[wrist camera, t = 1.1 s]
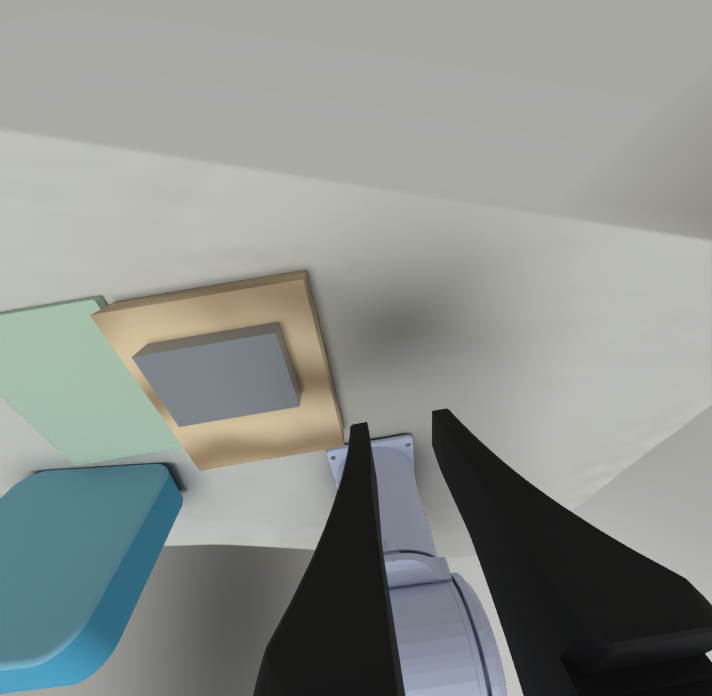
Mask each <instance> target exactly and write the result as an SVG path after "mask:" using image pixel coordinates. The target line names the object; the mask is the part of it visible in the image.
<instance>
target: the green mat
mask: <svg viewBox="0 0 712 696" xmlns="http://www.w3.org/2000/svg"><path fill="white" fill-rule="evenodd" d="M106 306H108V305H107V304H106V302H105V301H104V299H103V298H102V296H98V297H92V298H86V299H80V300H74V301H68V302H62V303H57V304H51V305H45V306H39V307H33V308H27V309H21V310H15V311H9V312H3V313H0V397H1V398H2V399H3V400H5V401H6V402H7V403H8V404H9V405H10V406H11V407H12V408H13V409H14V410H15V411H16V412H17V413H18V414H20V415H21V416H22V417H23V418H24V419H25V420H26V421H27V422H28V423H29V424H30V425H31V426H32V427H34V428H35V429H36V430H37V431H38V432H39V433H40V434H41V435H42V436H43V437H44V438H45V439H46V440H48V441H49V442H50V443H51V444H52V445H53V446H54V447H55V448H56V449H57V450H58V451H59V452H60V453H62V454H63V455H64V456H65V457H66V458H67V459H68V460H69V461H70V462H71V463H72V464H73V465H74V466H76V465H82V464H88V463H94V462H100V461H106V460H112V459H118V458H123V457H129V456H135V455H141V454H147V453H153V452H159V451H165V450H171V449H176V448H182V447H183V446H182V445H181V443H180V442H179V440H178V439H177V437H176V436H175V435H174V433H173V432H172V430H171V429H170V428H169V426H168V425H167V423H166V422H165V421H164V419H163V418H162V416H161V415H160V414H159V412H158V411H157V409H156V408H155V406H154V405H153V404H152V402H151V401H150V399H149V398H148V397H147V395H146V394H145V392H144V391H143V390H142V388H141V387H140V385H139V384H138V382H137V381H136V380H135V378H134V377H133V375H132V374H131V373H130V371H129V370H128V368H127V367H126V366H125V364H124V363H123V361H122V360H121V359H120V357H119V356H118V354H117V353H116V351H115V350H114V349H113V347H112V346H111V344H110V343H109V342H108V340H107V339H106V337H105V336H104V335H103V333H102V332H101V330H100V329H99V328H98V326H97V325H96V323H95V322H94V320H93V319H92V318H91V316H90V315H91V314H93V313H95V312H97V311H99V310H101V309H102V308H104V307H106Z"/></svg>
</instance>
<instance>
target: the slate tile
mask: <svg viewBox="0 0 712 696" xmlns="http://www.w3.org/2000/svg"><path fill="white" fill-rule="evenodd" d="M132 359H133V360H134V362H135V363H136V365H137V366H138V368H139V369H140V371H141V372H142V373H143V375H144V376H145V378H146V379H147V381H148V382H149V384H150V385H151V387H152V388H153V390H154V391H155V392H156V394H157V395H158V397H159V398H160V400H161V401H162V403H163V404H164V406H165V407H166V409H167V410H168V412H169V413H170V414H171V416H172V417H173V419H174V420H175V422H176V423H177V425H178V426H179V427H183V426H189V425H195V424H200V423H206V422H212V421H218V420H224V419H230V418H236V417H242V416H247V415H253V414H259V413H265V412H271V411H277V410H283V409H289V408H295V407H300V402H301V394H302V391H301V388H300V385H299V381H298V378H297V375H296V372H295V369H294V366H293V363H292V360H291V356H290V353H289V350H288V347H287V344H286V341H285V338H284V335H283V332H282V328H281V325H280V322H273V323H267V324H261V325H256V326H250V327H244V328H238V329H232V330H226V331H220V332H214V333H208V334H202V335H196V336H191V337H185V338H179V339H173V340H167V341H161V342H155V343H149V344H146V345H145V346H144V347H143V348H142V349H141V350H139V351H138V352H137V353H136V354H135V355H134V356H132Z"/></svg>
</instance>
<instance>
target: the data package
mask: <svg viewBox="0 0 712 696" xmlns="http://www.w3.org/2000/svg"><path fill="white" fill-rule="evenodd" d="M182 502H183V498H182V495H181V493H180V492H179V490H178V488H177V486H176V484H175V482H174V480H173V478H172V476H171V474H170V473H169V471H168V469H167V467H166V466H164V465H162V464H143V465H127V466H111V467H95V468H79V469H63V470H48V471H43V472H39V473H36V474H34V475H31V476H29V477H27V478H25V479H24V480H22V481H20V482H19V483H17V484H16V485H15V486H13V487H12V488H11V489H10V490H9V491H8V492H7V493H6V494H5V495H4V496H3V497H1V498H0V694H3V693H11V692H19V691H27V690H35V689H43V688H51V687H59V686H67V685H73V684H76V683H79V682H81V681H83V680H85V679H86V678H88V677H89V676H91V675H92V674H93V673H95V672H96V671H97V670H98V669H99V668H100V667H101V666H102V665H103V664H104V663H105V662H106V661H107V659H108V658H109V657H110V656H111V654H112V653H113V651H114V650H115V648H116V646H117V644H118V642H119V640H120V638H121V636H122V634H123V632H124V630H125V627H126V625H127V623H128V621H129V619H130V617H131V614H132V612H133V610H134V608H135V605H136V604H137V601H138V599H139V597H140V595H141V593H142V591H143V588H144V586H145V584H146V582H147V580H148V578H149V575H150V573H151V571H152V569H153V567H154V565H155V563H156V560H157V558H158V556H159V554H160V552H161V550H162V547H163V545H164V543H165V541H166V539H167V537H168V534H169V532H170V530H171V528H172V526H173V524H174V521H175V519H176V517H177V515H178V513H179V511H180V508H181V506H182Z"/></svg>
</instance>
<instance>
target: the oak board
mask: <svg viewBox="0 0 712 696" xmlns="http://www.w3.org/2000/svg"><path fill="white" fill-rule="evenodd" d="M90 316H91V318H92V319H93V320H94V322H95V323H96V325H97V326H98V328H99V329H100V330H101V332H102V333H103V335H104V336H105V337H106V339H107V340H108V342H109V343H110V344H111V346H112V347H113V349H114V350H115V351H116V353H117V354H118V356H119V357H120V359H121V360H122V361H123V363H124V364H125V366H126V367H127V368H128V370H129V371H130V373H131V374H132V375H133V377H134V378H135V380H136V381H137V382H138V384H139V385H140V387H141V388H142V390H143V391H144V392H145V394H146V395H147V397H148V398H149V399H150V401H151V402H152V404H153V405H154V406H155V408H156V409H157V411H158V412H159V414H160V415H161V416H162V418H163V419H164V421H165V422H166V423H167V425H168V426H169V428H170V429H171V430H172V432H173V433H174V435H175V436H176V437H177V439H178V440H179V442H180V443H181V445H182V446H183V447H184V449H185V450H186V452H187V453H188V454H189V456H190V457H191V459H192V460H193V461H194V463H195V464H196V466H197V467H198V469H199V470H200V471H201V470H207V469H213V468H219V467H225V466H231V465H236V464H242V463H248V462H254V461H260V460H266V459H272V458H278V457H283V456H289V455H295V454H301V453H307V452H313V451H319V450H325V449H330V448H336V447H342V446H345V445H344V429H343V424H342V420H341V415H340V411H339V407H338V403H337V399H336V394H335V390H334V386H333V382H332V378H331V373H330V369H329V365H328V361H327V357H326V353H325V348H324V344H323V340H322V336H321V332H320V327H319V323H318V319H317V315H316V311H315V306H314V302H313V298H312V294H311V290H310V286H309V281H308V277H307V273H306V270H302V271H296V272H290V273H284V274H278V275H272V276H267V277H261V278H255V279H249V280H243V281H237V282H231V283H225V284H219V285H213V286H207V287H201V288H196V289H190V290H184V291H178V292H172V293H166V294H160V295H154V296H148V297H142V298H136V299H131V300H125V301H119V302H114V303H112V304H110V305H108V306H106V307H104V308H102V309H101V310H99V311H97V312H95V313H93V314H91V315H90ZM273 322H280V325H281V328H282V332H283V335H284V338H285V341H286V344H287V347H288V350H289V353H290V356H291V360H292V363H293V366H294V369H295V372H296V375H297V378H298V381H299V385H300V388H301V391H302V394H301V402H300V407H295V408H289V409H283V410H277V411H271V412H265V413H259V414H253V415H247V416H242V417H236V418H230V419H224V420H218V421H212V422H206V423H200V424H195V425H189V426H183V427H179V426H178V425H177V423H176V422H175V420H174V419H173V417H172V416H171V414H170V413H169V412H168V410H167V409H166V407H165V406H164V404H163V403H162V401H161V400H160V398H159V397H158V395H157V394H156V392H155V391H154V390H153V388H152V387H151V385H150V384H149V382H148V381H147V379H146V378H145V376H144V375H143V373H142V372H141V371H140V369H139V368H138V366H137V365H136V363H135V362H134V360H133V359H132V356H134V355H135V354H136V353H137V352H138V351H139V350H141V349H142V348H143V347H144V346H145V345H146V344H149V343H155V342H161V341H167V340H173V339H179V338H185V337H191V336H196V335H202V334H208V333H214V332H220V331H226V330H232V329H238V328H244V327H250V326H256V325H261V324H267V323H273Z"/></svg>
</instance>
